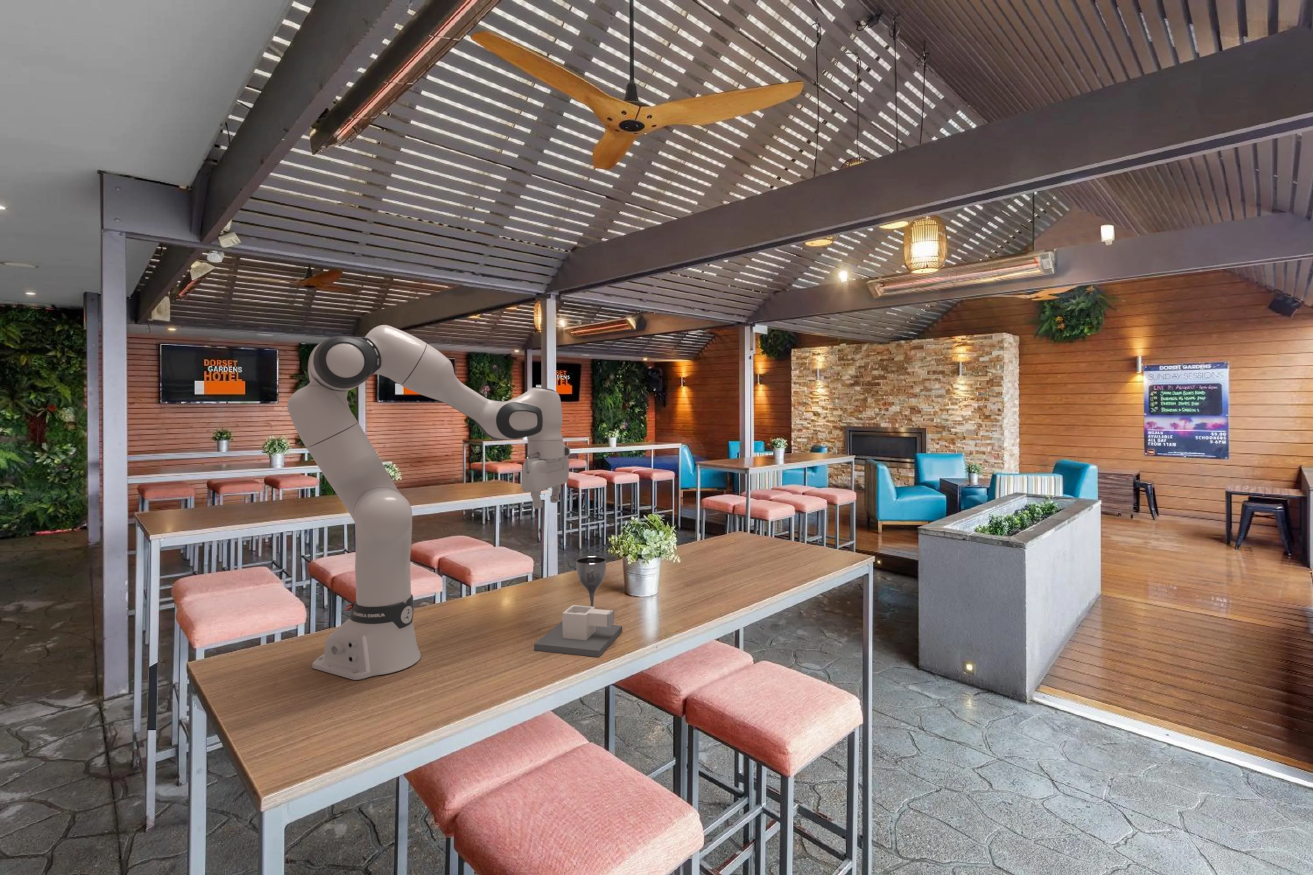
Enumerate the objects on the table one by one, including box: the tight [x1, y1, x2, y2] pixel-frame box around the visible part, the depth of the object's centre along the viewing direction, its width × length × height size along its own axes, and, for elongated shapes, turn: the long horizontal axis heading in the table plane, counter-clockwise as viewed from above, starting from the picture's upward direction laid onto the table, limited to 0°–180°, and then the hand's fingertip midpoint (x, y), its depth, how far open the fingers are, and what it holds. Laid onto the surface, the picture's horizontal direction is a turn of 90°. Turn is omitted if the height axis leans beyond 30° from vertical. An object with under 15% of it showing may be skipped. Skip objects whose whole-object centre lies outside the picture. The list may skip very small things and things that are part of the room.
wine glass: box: [576, 555, 607, 607], centre depth 163 cm, size 8×8×15 cm
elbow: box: [561, 604, 615, 640], centre depth 144 cm, size 11×6×6 cm, turn 74°
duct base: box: [533, 612, 623, 658], centre depth 145 cm, size 16×16×6 cm
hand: (546, 505), depth 155 cm, fingers open, 8 cm apart
